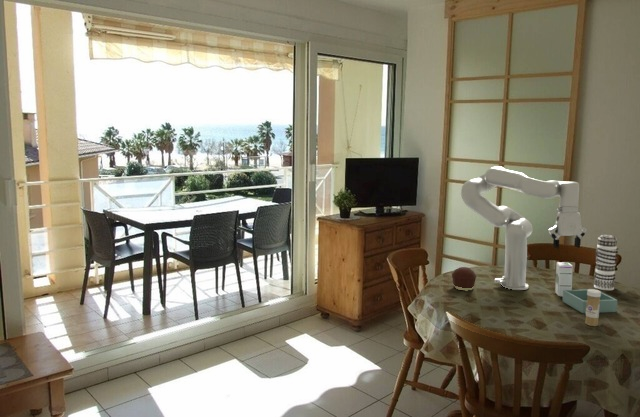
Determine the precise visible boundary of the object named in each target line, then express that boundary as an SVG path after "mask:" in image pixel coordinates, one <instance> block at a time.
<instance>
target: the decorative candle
mask: <svg viewBox="0 0 640 417" xmlns="http://www.w3.org/2000/svg"><path fill="white" fill-rule="evenodd" d="M597 239H598V241H597V246H596V247H597V248H596V249H595V257H594V258H595V263H596V267H595V272H594V279H593V281H594V282H593V287H594V288H595V289H596V290H598V289H599V290H602V291H613V290H615V286H616V284H615V283H616V281H615V280H616V270H615V268H616V265H617V262H616V261H618V259H617V258H618V255H617V254H618V253H619V252H618V250H619V248H618V246H617V243H618V239H617V238H616V237H615V235H611V234H601V235H600V236H599V237H597Z"/></svg>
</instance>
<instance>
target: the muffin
mask: <svg viewBox="0 0 640 417" xmlns="http://www.w3.org/2000/svg"><path fill="white" fill-rule="evenodd" d="M451 277H452V284H454V285H455V286H458V287H462V288H472V287H473V286H474V287H475V284H476V279H477V274H476V273H475V272H474V270H473V269H471V268H470V267H466V266H461V267H457V268H456V269H454V270H453V272H452V273H451Z"/></svg>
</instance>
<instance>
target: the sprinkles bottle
mask: <svg viewBox="0 0 640 417" xmlns="http://www.w3.org/2000/svg"><path fill="white" fill-rule="evenodd" d="M586 290H587V289H586ZM601 292H602V291H600V289H599V290H598V289H597V288H595V289H594V288H588V290H587V307H586V313H585V321H584V323H585V324H586V325H587V326H590V327H597V326H599V317H600V313H599V306H600V296H601Z"/></svg>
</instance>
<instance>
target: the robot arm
mask: <svg viewBox="0 0 640 417" xmlns="http://www.w3.org/2000/svg"><path fill="white" fill-rule="evenodd" d="M496 187H500V188H503V189H508V190H509V189H510V190H512V191H517V192H518V193H522V194H525V195H528V196H533V197H536V198H541V199H546V200H548V199H549V200H550V199H553V198H556V197H559V205H558V207H556V211H558V212H557V215H556V217H555V223H554V226H553V227H550V228H549V229H548V230H547V231H548V233H549V236H550V237H551V238H552V240H553V245H552V246H553V247H554V248H555V249H557V250H558V249H559V248H560V239H559V238H560V237H561V236H562V237H563V236H564V237H566V236H567V237H568V236H571V237H573V236H575V237H574V245H573V246H574V248H577V249H579V248H581V245H582V244H581V243H582V238H583V237H584V236H585V234H586V233H587V231H588V228H586V227H584V226H582V217H581V213H580V212H579V201H580V200H579V199H580V197H579V196H580V183H579V182H578V181H572V180H571V181H561V180H554V179H553V180H552V179H551V180H547V181H545V180H540V179H535V178H532V177H529V176H527V175H526V174H525V173H523V172H520V171H515V170H510V169H506V168H505V167H504V166H500V165H499V166H492V167H490V168H488V169H487V170H486V172H484V174H482V175H479V176H478V177H476V178H472V179H469V180H467V181H465V182H464V183H463V185H462V186H461V189H460V190H461V191H460V194H461V199H462V201H463V203H464V204H465V205H466V206H467V207H468V209H470V210H471V211H473V212H474V213H476V214H477V215H479V217H480V218H482V219H484V220H485V221H486V222H488V223H489V224H490V225H491V226H493V227H494V228H501V227H503V228H505V231H504V242H505V244H504V246H505V250H504V252H505V256H504V274H503V275H502V276H501V277H500V278H494V279H493V282H494V283H497V284H498V283H499V285H500V284H501V285H502V286H503V287H505V288H504V289H506V288H508V289H507V290H510V289H512V290H511V291H524V290H525V291H526V290H528V289H529V286H530V285H529V284H528V283H526V282H527V280H526V279H527V278H526V277H527V276H526V275H527V260H528V259H527V258H528V256H527V255H528V245H527V244H528V243H527V242H528V240H527V238H529V237H530V236H531V235H532V233H533V230H534V229H533V225H532V223H531V221H529V220H528V219H527V218H525V217H524V216H523V215H521V214H520V213H519V212H517V211H515V210H514V209H512V208H511V207H509V206H506V205H499V206H498V205H496V204H495V203H493V202H492V201H490V200H489V199H487V198H485V197H484V196H482V195H484V194H485V193H487V192H489V191H491V190H493V189H494V188H496ZM501 285H500V286H501ZM502 286H501V287H502ZM503 287H502V288H503Z"/></svg>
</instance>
